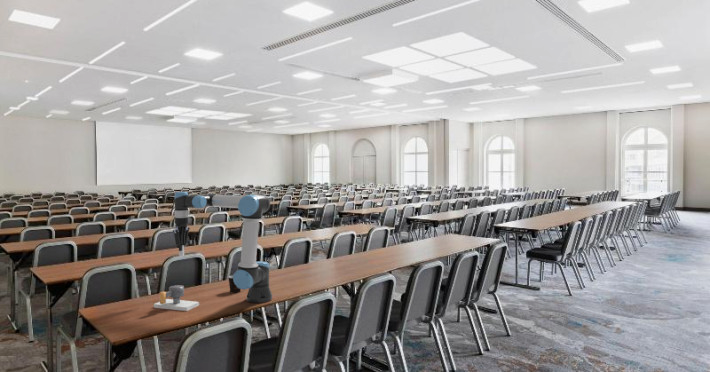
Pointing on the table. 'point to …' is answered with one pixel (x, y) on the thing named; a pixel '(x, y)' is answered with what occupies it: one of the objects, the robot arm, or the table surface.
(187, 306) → the post base
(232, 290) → the coffee mug
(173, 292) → the orange knob joystick
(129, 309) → the table surface
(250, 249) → the robot arm
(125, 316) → the table surface
